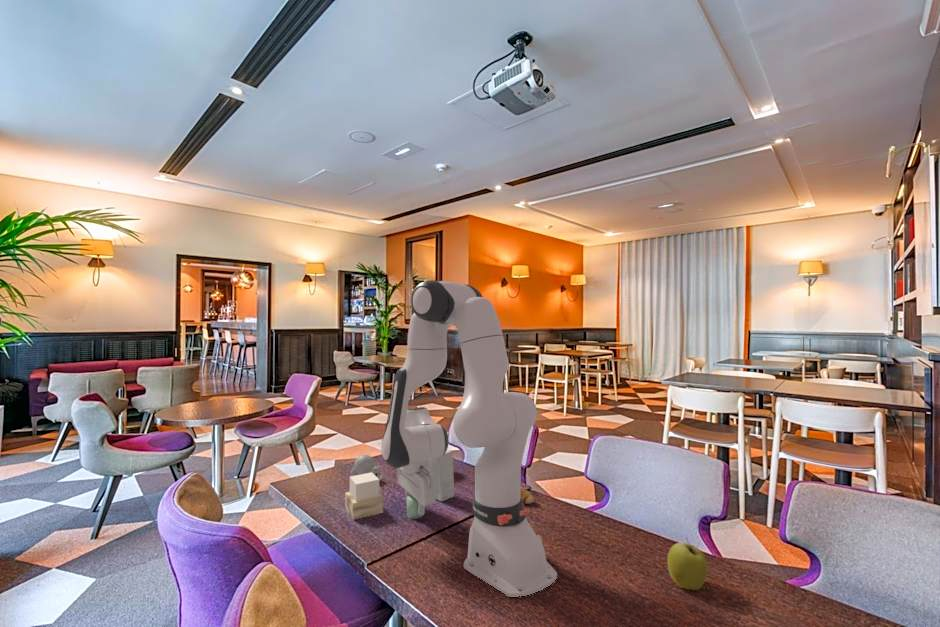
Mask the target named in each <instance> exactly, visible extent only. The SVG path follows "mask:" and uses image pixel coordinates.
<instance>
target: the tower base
mask: <svg viewBox="0 0 940 627" xmlns="http://www.w3.org/2000/svg"><path fill="white" fill-rule="evenodd" d="M344 508H346V509H345V510H346V512H347V511H348V512H347V514H348V515H349V514H350V515H349V516H350V518H351V519H352V520H353V521H355V519H356V520H359V518H360V519H364V518H367V516H368V517H372V516H375V515H379V514H383V513H384V496H383V495H382V493H380V492H379V496H378V497H374V498H370V499H365V500H361V501H357V502H356V501H355V500H354V498H353V497H352V496H351V494H350V491H345V492H344ZM371 515H372V516H371ZM363 517H364V518H363Z"/></svg>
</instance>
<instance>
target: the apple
mask: <svg viewBox="0 0 940 627" xmlns="http://www.w3.org/2000/svg"><path fill="white" fill-rule="evenodd" d="M685 538H686V541H687V542H677V543H675V544H673V545H672V546H671V547H670V549H669V550H668V553H667V570H668V573H669V576H670V577H671V579H672V581H673V582H674V583H675V584H676V585H677V586H678V587H679V588H681V587H682V588H681V589H683V588H685V589H684V590H690V589H691V590H692V591H698V590H701V588H702V587H703V585H704V583H705V582H706V579H707V577H708V576H707V575H708V568H709V567H708V566H709V565H708V561H707V559H706V556H705V554H704V552H703V551H702V550H701V549H700V548H698V547H697V546H696V545H693V544H690V543H689V541H688V537H685Z"/></svg>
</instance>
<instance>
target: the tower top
mask: <svg viewBox="0 0 940 627" xmlns="http://www.w3.org/2000/svg"><path fill="white" fill-rule="evenodd" d="M349 492H350V494H351V496H352V497H353V498H354V500H355V501H356V502H357V501H361V500H365V499H370V498H374V497H378V496H379V493H380V481H379V479H378V478H377V477H376V476H375V475H374V474H373V473H372V472H371V473H366V474H361V475H358V474H357V475H356V476H351V475H350V476H349Z"/></svg>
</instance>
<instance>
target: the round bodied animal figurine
mask: <svg viewBox="0 0 940 627" xmlns="http://www.w3.org/2000/svg"><path fill="white" fill-rule="evenodd" d="M381 467H382V465H378V466H376V465H375V460H374V459H373V457H372V456H370V455H368V454H362V455H359V456H358V457H356V458H355V461H354V464H353V467H352V469H351V470H350V472H349V474H350V477H351V476H356V475H361V474H366V473H371V472H372V473H373V474H374V475H375V476H376V477H377V478H378V479H379V482H380V481H382V479H383V474H381Z"/></svg>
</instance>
